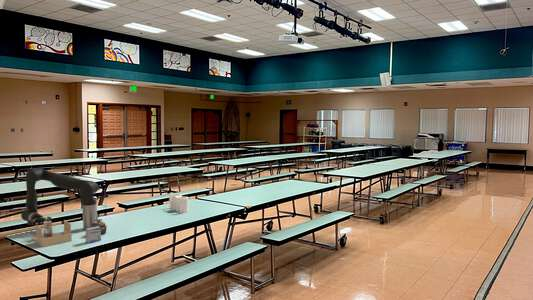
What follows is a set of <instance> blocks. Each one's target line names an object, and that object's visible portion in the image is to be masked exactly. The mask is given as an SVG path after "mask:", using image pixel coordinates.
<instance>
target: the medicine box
mask: <svg viewBox="0 0 533 300" xmlns="http://www.w3.org/2000/svg"><path fill="white" fill-rule="evenodd" d="M84 232H85V242H86V243H88V244H92V243H96V242H101V241H102V235H101V228H100V227H98V226H97V227H92V228H88V229H85V231H84Z"/></svg>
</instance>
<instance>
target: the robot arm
mask: <svg viewBox="0 0 533 300" xmlns="http://www.w3.org/2000/svg"><path fill="white" fill-rule="evenodd" d="M39 181H47V182H50V183H51V184H52V185H53V186H55V187H56V188H61V189H66V190H79V194H80V201H81V203H82V209H81V210H82V226H83V227H82V228H83V230H85V229H88V228H91V227H92V223H94V220H99V214H98V206H97V205H98V203H97V202H98V201H97V199H96V198H94V194H96V193H98V192H99V185H98V183H97V182H95V181H92V180H86V179H80V178H76V177H73V176H70V175H65V174H61V173H57V172H52V171H49V170H46V169H44V168H42V167H41V168H40V167H35V168H32V169H29V170H27V172H26V174H25V186H26V200H25V208H27V209H28V210H23V211H22V212H21V214H20V215H21V216H20V217H21V218H22V220H23V221H26V223H27V225H28V226H31V225H32V226H36V225H37V226H39V225H41V224H44V222H45V221H51V222H53V220H52V219H53V218H52V217H50V216H47V217H44V216H43V215H42V214H40V213H39V212H38V206H37V205H38V193H37V192H36V184H37V182H39Z"/></svg>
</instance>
